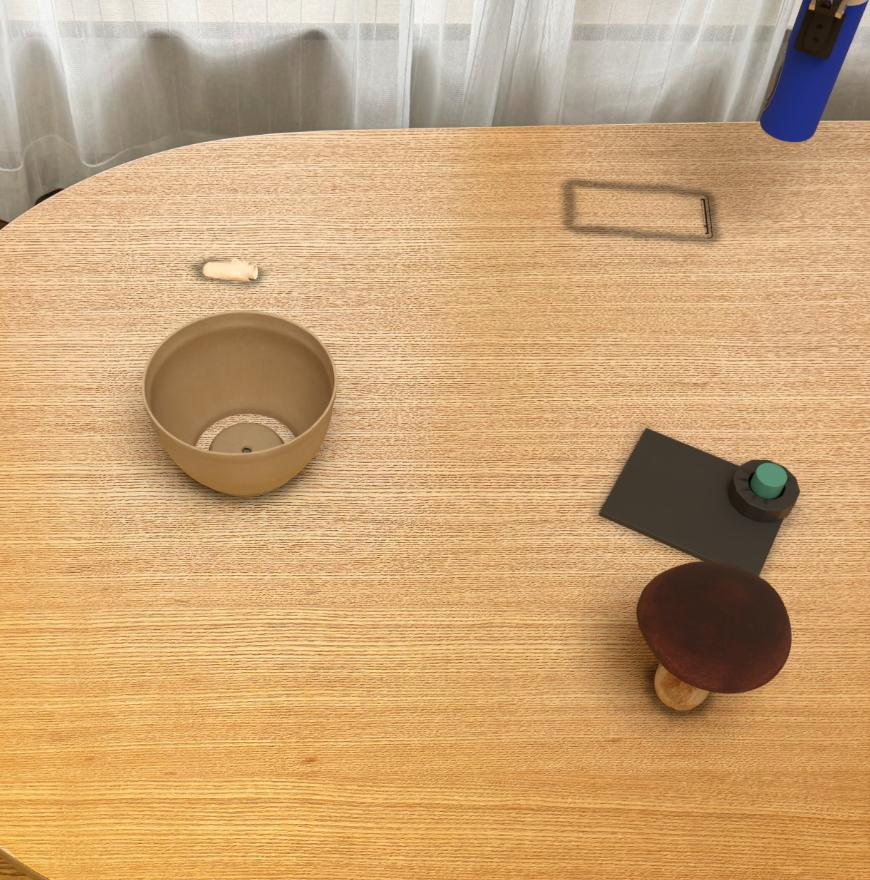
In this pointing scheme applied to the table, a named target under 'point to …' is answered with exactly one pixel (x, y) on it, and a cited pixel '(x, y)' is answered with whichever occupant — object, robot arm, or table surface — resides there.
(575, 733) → the table surface
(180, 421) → the planter bowl
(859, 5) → the beverage can
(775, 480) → the button
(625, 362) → the table surface
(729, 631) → the decorative mushroom
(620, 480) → the scale
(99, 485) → the table surface
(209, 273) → the small white plastic part
